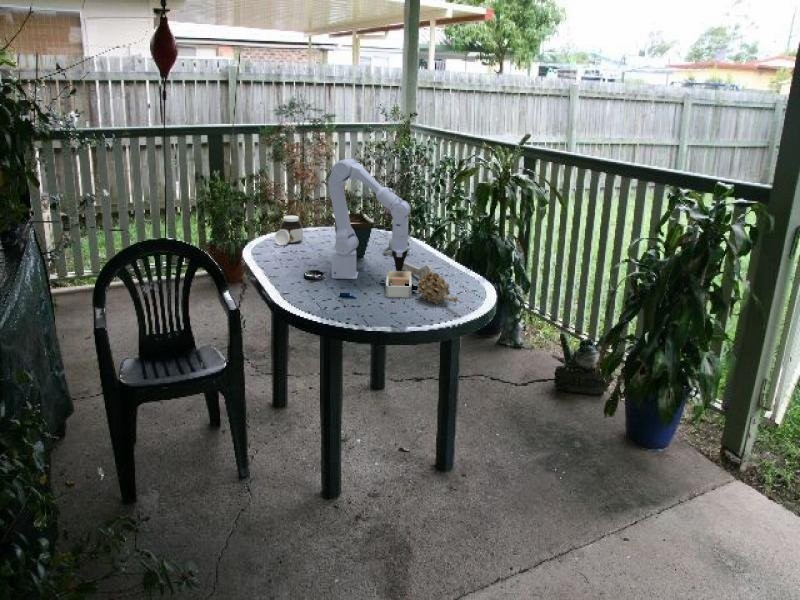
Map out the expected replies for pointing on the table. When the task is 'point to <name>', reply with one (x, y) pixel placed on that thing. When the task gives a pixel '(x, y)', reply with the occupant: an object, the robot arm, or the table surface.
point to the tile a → (398, 281)
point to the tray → (398, 289)
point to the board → (399, 275)
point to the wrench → (417, 269)
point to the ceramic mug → (391, 248)
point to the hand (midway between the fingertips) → (399, 270)
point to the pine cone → (434, 288)
